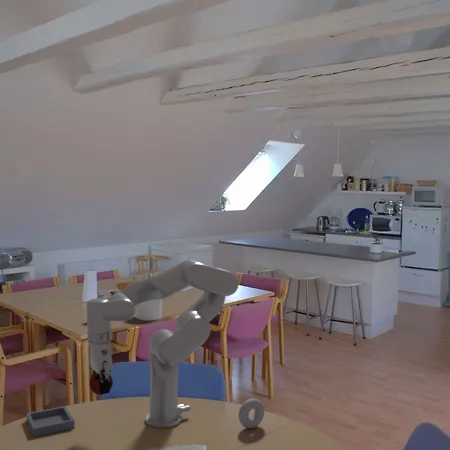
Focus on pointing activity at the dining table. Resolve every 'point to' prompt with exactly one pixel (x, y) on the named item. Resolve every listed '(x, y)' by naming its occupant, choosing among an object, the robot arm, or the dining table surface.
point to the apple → (95, 382)
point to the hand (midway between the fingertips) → (100, 388)
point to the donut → (245, 410)
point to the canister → (149, 310)
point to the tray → (50, 421)
